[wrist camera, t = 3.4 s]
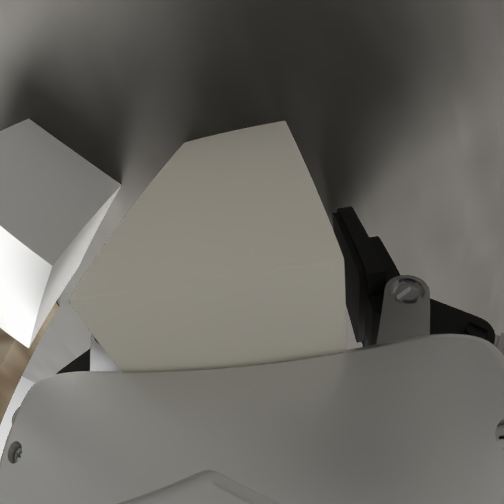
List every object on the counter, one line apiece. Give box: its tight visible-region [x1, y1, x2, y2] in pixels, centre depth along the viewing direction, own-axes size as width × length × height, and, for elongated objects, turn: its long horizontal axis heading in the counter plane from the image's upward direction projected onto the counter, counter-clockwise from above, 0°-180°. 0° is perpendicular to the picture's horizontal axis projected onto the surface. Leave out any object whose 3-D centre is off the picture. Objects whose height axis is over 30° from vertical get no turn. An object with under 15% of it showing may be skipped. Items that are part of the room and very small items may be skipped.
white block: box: [69, 121, 346, 372], centre depth 10 cm, size 9×4×9 cm, turn 12°
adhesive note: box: [0, 119, 121, 348], centre depth 10 cm, size 6×6×6 cm
